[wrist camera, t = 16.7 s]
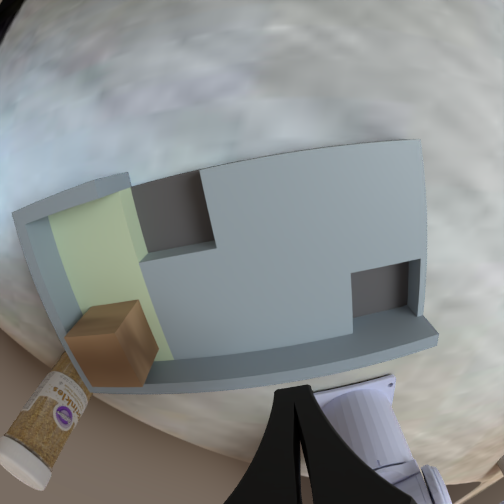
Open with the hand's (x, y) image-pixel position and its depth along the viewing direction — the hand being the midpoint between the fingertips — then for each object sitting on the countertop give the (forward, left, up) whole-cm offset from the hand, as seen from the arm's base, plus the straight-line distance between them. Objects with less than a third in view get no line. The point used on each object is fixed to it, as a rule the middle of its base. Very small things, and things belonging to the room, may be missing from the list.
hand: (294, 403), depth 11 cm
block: (0, +11, -8) cm, 13 cm away
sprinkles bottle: (-5, +19, -10) cm, 22 cm away
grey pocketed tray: (+3, +2, -10) cm, 11 cm away
